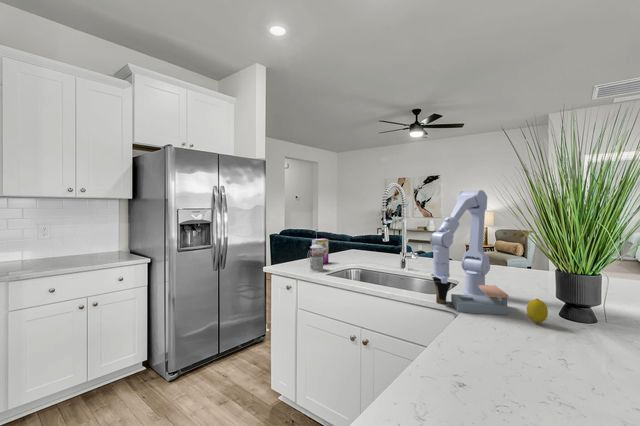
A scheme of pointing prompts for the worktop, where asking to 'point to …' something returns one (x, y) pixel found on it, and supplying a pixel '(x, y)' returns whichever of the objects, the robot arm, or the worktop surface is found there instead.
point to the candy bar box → (322, 250)
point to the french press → (316, 258)
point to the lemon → (537, 311)
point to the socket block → (482, 301)
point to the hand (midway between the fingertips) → (441, 297)
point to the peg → (438, 298)
